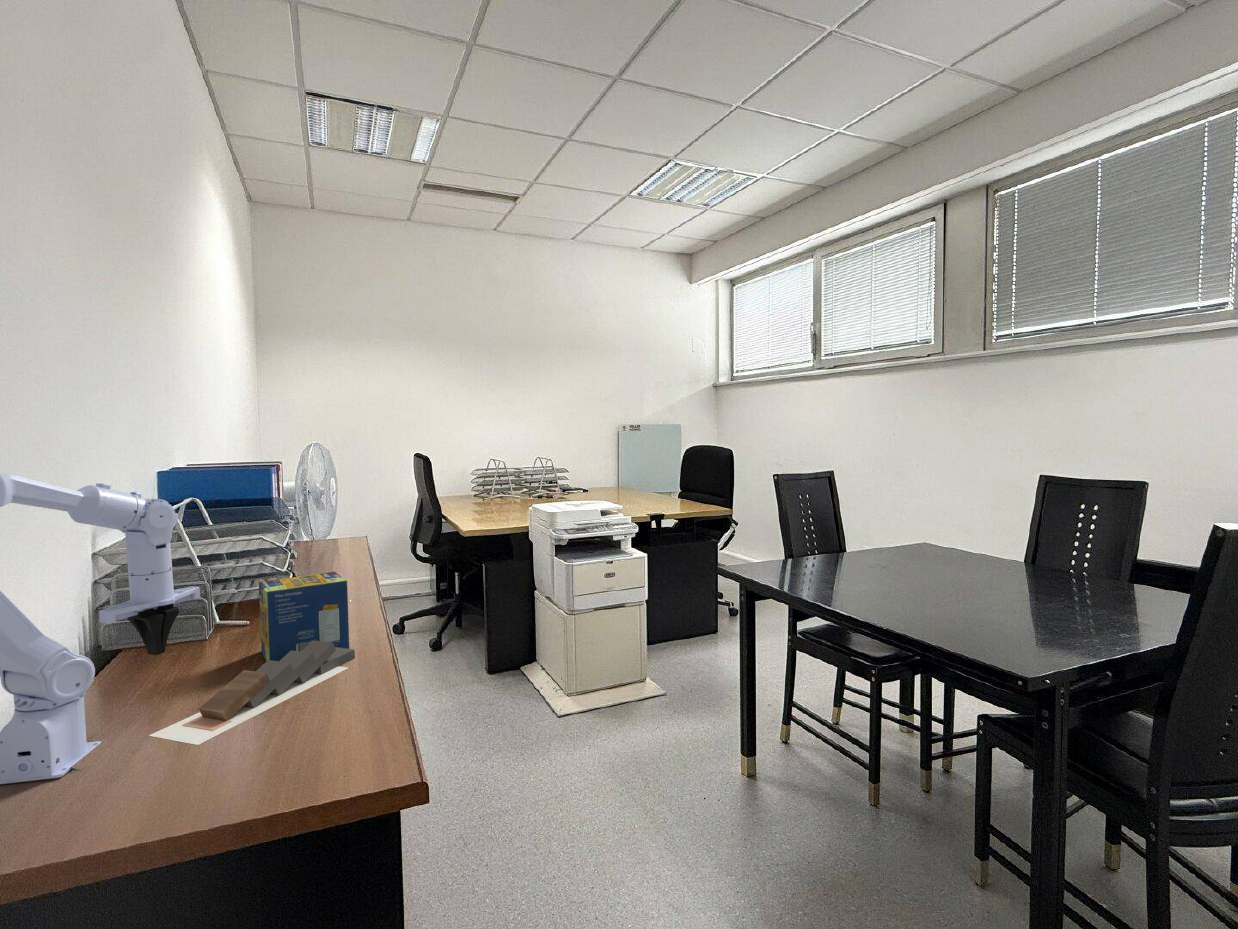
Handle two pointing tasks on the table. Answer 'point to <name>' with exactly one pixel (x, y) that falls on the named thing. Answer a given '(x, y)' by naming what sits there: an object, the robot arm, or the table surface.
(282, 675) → the domino
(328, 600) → the protein box
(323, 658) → the domino
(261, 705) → the board
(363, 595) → the table surface
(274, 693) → the domino
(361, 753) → the table surface
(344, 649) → the domino
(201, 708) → the domino
